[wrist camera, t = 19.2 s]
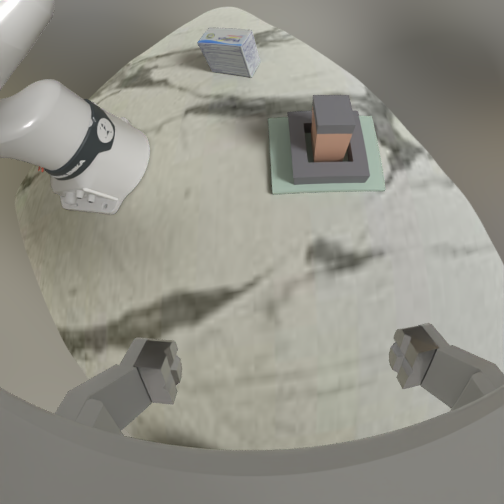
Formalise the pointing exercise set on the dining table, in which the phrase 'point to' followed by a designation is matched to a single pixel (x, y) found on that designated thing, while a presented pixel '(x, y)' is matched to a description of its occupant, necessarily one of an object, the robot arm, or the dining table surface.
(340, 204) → the dining table surface
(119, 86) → the dining table surface
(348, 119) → the plug
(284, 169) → the board
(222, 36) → the medicine box
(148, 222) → the dining table surface
